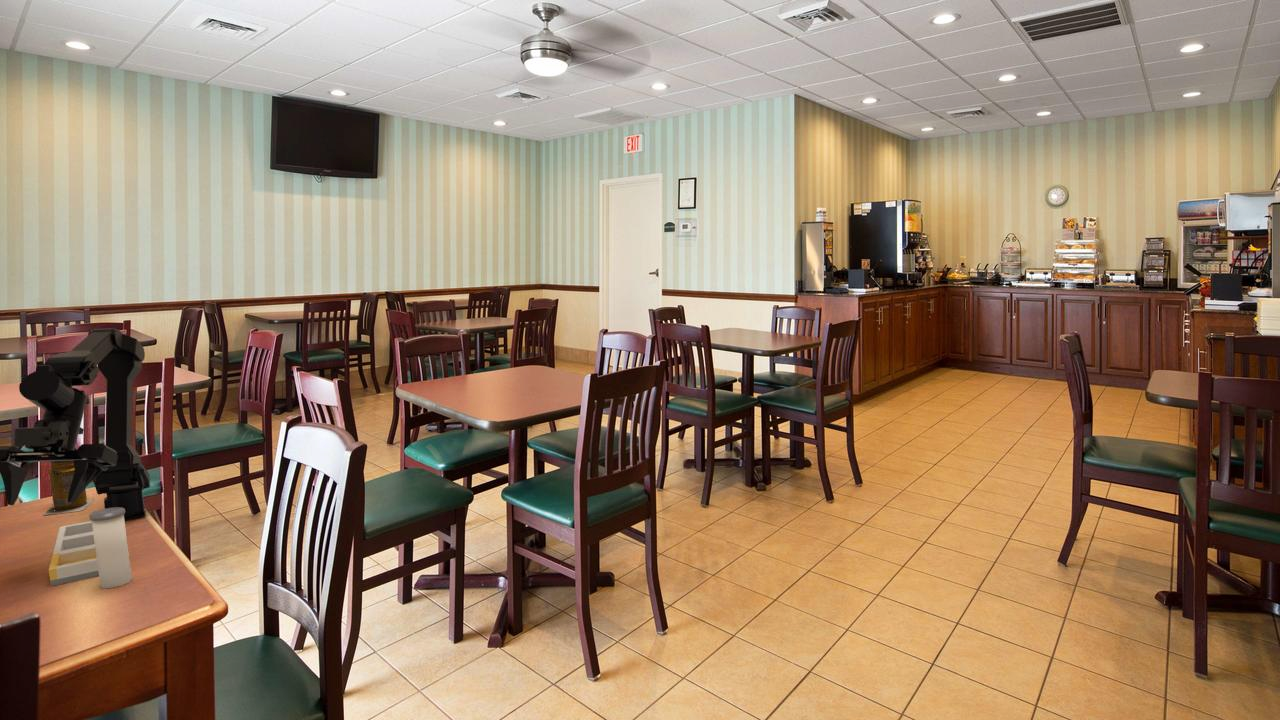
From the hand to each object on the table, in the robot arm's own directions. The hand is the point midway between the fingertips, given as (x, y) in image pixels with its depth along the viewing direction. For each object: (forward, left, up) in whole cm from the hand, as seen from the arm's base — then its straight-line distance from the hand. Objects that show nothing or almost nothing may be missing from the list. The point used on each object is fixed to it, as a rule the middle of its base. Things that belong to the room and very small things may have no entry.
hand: (40, 503), depth 124 cm
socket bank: (-4, -9, -14) cm, 17 cm away
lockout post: (-9, +8, -14) cm, 19 cm away
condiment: (0, -44, -15) cm, 47 cm away
